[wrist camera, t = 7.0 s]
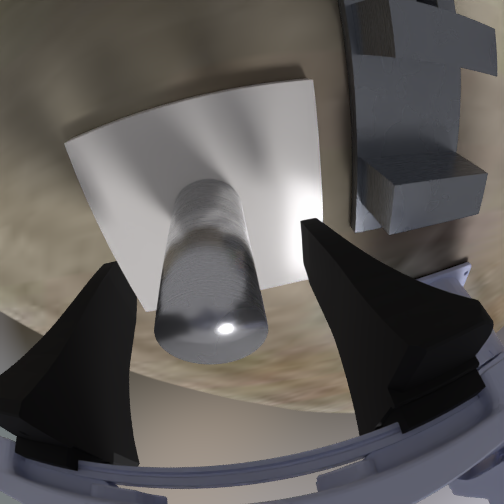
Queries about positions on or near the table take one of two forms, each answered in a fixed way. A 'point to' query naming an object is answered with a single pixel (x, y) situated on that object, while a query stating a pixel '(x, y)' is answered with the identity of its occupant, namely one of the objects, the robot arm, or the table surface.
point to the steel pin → (209, 279)
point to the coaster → (206, 175)
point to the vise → (411, 111)
